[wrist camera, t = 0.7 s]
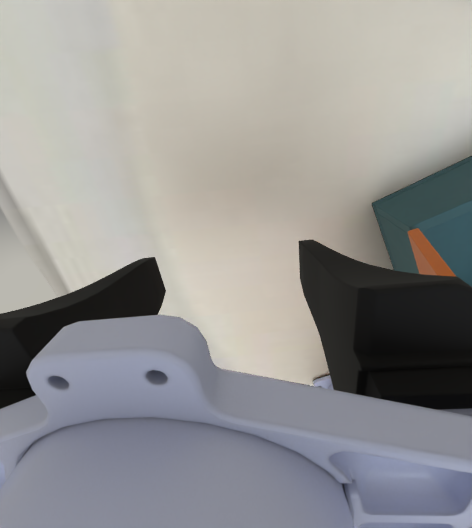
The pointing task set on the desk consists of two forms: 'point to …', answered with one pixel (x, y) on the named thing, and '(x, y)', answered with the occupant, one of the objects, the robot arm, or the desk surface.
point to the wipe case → (431, 219)
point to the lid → (427, 256)
